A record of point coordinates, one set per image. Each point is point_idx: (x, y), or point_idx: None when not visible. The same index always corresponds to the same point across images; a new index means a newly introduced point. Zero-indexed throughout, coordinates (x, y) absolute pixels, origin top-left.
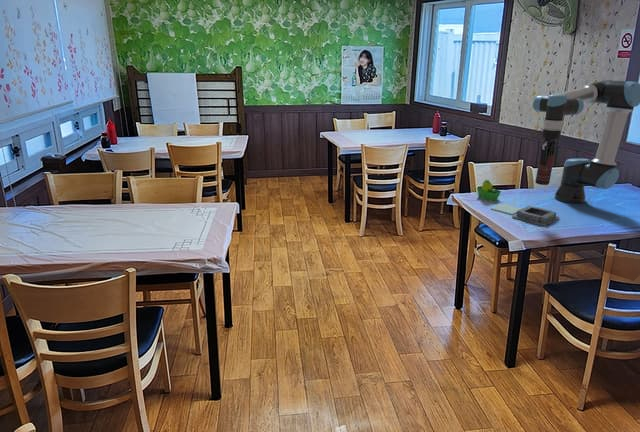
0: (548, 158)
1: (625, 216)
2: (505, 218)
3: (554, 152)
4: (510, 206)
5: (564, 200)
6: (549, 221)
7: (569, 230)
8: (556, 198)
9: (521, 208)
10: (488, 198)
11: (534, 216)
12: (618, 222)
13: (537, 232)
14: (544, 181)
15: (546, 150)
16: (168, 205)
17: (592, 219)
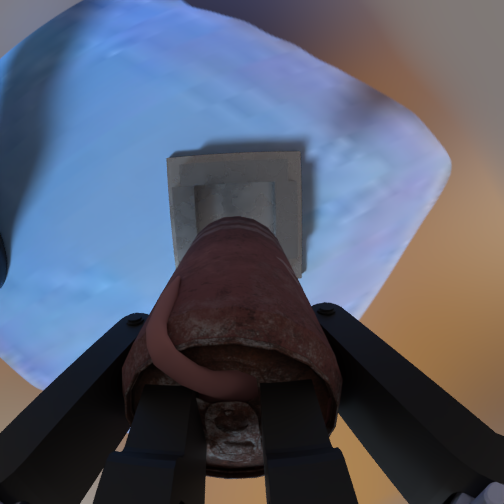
0: (327, 342)
1: (2, 73)
2: (324, 285)
3: (41, 401)
4: None
5: (2, 250)
6: (250, 156)
7: (264, 78)
8: (4, 278)
9: None
10: None
11: (296, 201)
12: (59, 44)
13: (372, 145)
14: (274, 237)
15: (490, 441)
16: None
17: (82, 93)
